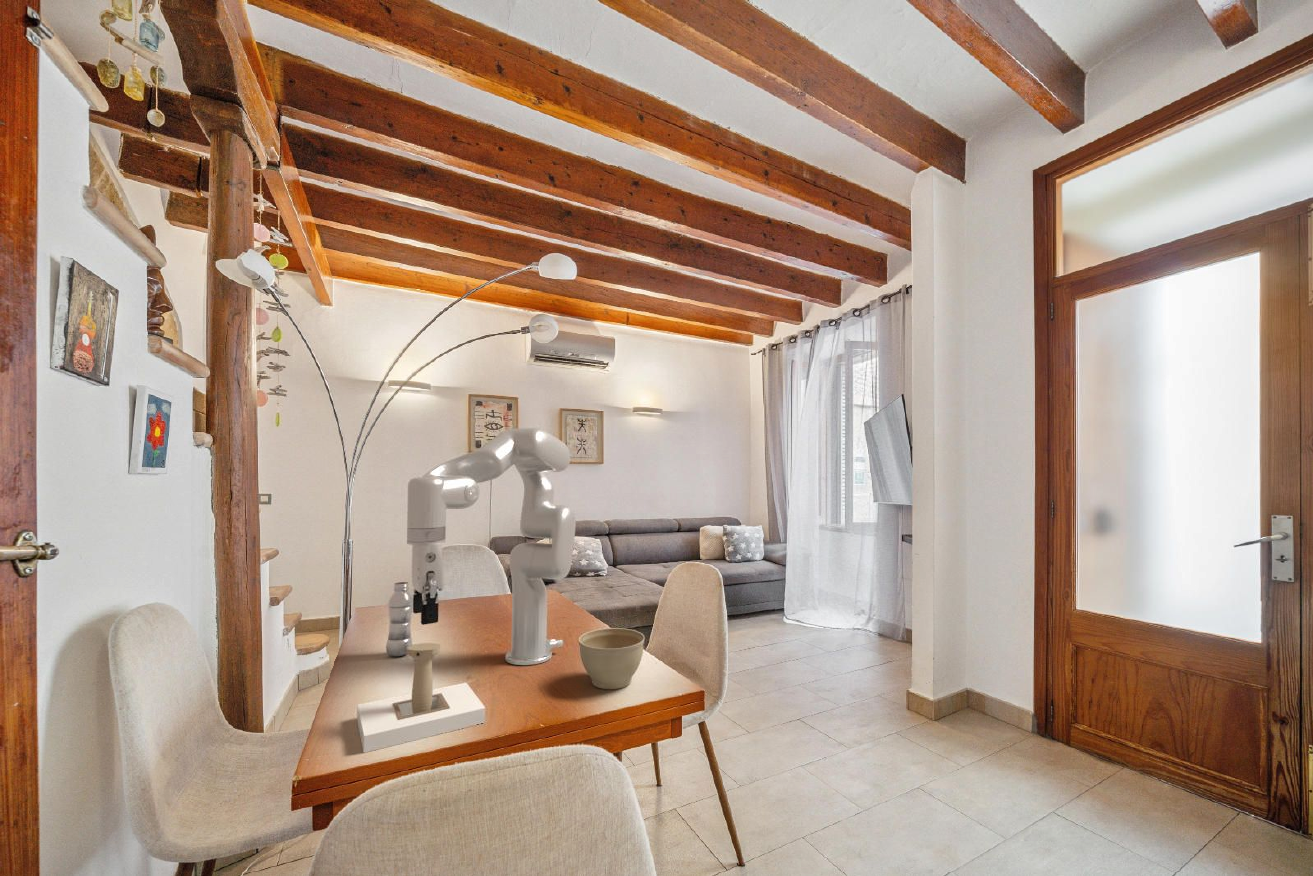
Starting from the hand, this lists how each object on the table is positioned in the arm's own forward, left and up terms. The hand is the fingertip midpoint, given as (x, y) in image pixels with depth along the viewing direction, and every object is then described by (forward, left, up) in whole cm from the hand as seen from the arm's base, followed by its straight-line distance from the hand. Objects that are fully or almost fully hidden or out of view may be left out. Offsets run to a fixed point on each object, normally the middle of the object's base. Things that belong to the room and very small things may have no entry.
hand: (425, 617), depth 113 cm
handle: (0, 0, -21) cm, 21 cm away
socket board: (0, 0, -21) cm, 21 cm away
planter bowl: (-43, +3, -21) cm, 48 cm away
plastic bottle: (-2, -47, -21) cm, 51 cm away
